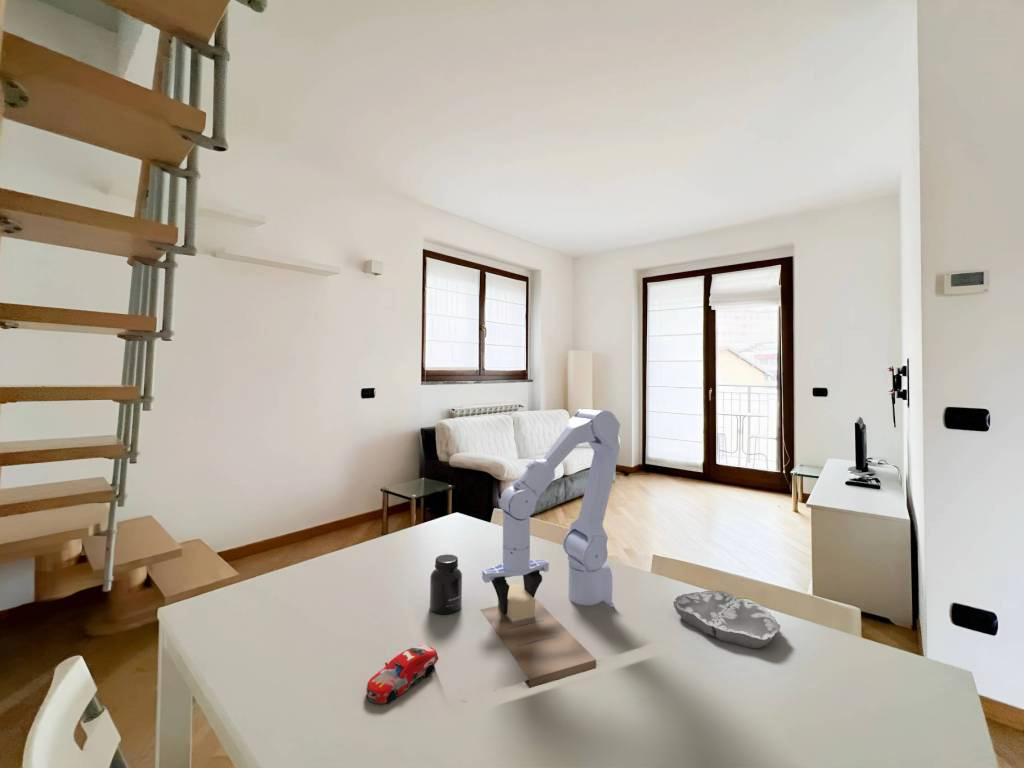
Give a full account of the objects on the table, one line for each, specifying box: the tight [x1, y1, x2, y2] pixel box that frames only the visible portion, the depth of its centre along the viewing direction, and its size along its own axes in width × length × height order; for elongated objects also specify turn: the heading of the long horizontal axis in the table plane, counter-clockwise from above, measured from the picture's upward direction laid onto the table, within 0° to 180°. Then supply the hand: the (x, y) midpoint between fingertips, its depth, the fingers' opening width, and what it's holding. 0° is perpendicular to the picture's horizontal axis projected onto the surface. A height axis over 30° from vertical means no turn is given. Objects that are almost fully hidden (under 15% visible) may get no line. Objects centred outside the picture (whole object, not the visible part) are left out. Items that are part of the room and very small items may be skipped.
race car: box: [366, 644, 439, 704], centre depth 74 cm, size 13×5×4 cm, turn 142°
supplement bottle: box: [429, 554, 463, 616], centre depth 95 cm, size 7×7×12 cm
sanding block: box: [497, 583, 535, 624], centre depth 93 cm, size 5×8×4 cm, turn 23°
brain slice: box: [672, 590, 781, 649], centre depth 92 cm, size 20×17×3 cm
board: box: [480, 597, 597, 689], centre depth 86 cm, size 24×13×2 cm, turn 24°
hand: (515, 609), depth 93 cm, fingers closed on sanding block, 5 cm apart
